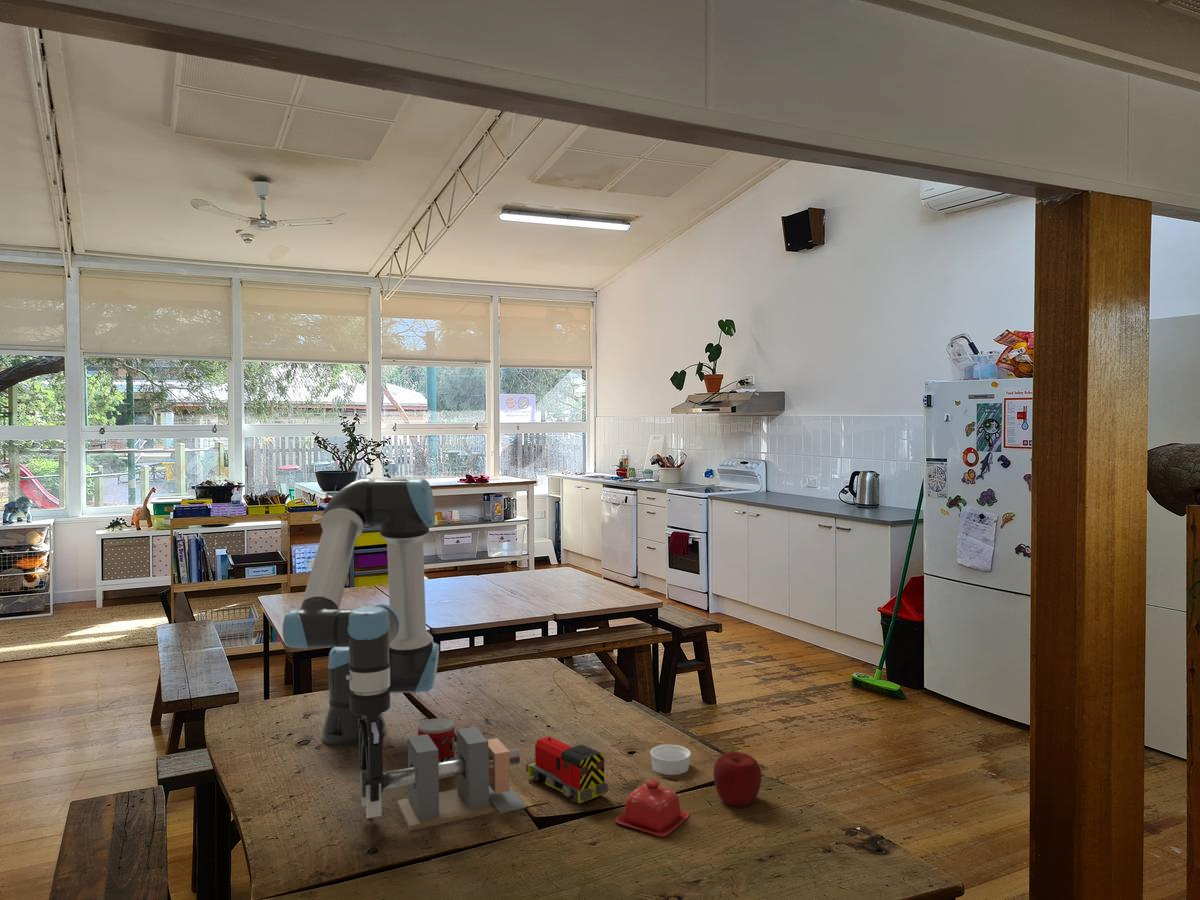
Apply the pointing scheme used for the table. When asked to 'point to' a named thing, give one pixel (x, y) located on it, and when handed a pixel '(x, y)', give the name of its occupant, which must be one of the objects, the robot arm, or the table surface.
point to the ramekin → (670, 759)
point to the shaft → (445, 770)
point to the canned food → (440, 736)
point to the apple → (737, 778)
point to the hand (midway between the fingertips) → (371, 809)
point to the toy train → (569, 769)
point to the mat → (506, 801)
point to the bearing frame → (424, 794)
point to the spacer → (499, 766)
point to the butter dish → (652, 809)
